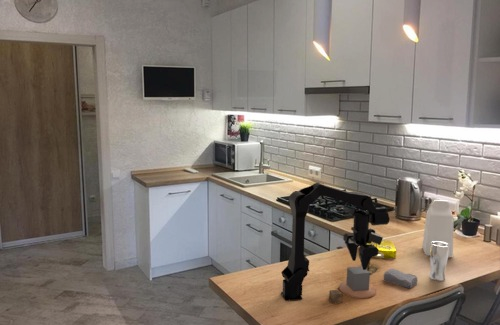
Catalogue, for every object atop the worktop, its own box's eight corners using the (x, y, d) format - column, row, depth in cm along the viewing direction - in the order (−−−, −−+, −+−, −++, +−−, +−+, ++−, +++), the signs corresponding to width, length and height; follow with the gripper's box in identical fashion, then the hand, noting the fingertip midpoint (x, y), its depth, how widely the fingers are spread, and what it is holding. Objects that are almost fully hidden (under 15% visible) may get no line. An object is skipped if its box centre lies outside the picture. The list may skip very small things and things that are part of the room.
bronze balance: (366, 282, 177) (367, 253, 175) (349, 278, 181) (351, 249, 179) (385, 264, 197) (387, 237, 195) (370, 260, 201) (371, 234, 199)
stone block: (392, 278, 186) (381, 280, 179) (394, 267, 186) (383, 269, 179) (419, 288, 178) (409, 290, 171) (421, 276, 178) (411, 278, 171)
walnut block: (332, 303, 159) (332, 294, 158) (329, 299, 162) (329, 290, 162) (341, 302, 159) (341, 293, 159) (338, 298, 163) (338, 289, 162)
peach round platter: (347, 299, 162) (348, 296, 162) (333, 283, 175) (333, 281, 175) (382, 296, 164) (382, 293, 164) (365, 281, 178) (366, 278, 178)
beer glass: (424, 276, 184) (427, 242, 182) (437, 274, 186) (440, 240, 184) (436, 282, 178) (439, 247, 175) (449, 280, 180) (452, 245, 178)
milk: (425, 255, 209) (429, 202, 205) (422, 247, 220) (426, 196, 216) (452, 257, 206) (457, 204, 202) (447, 249, 217) (452, 198, 213)
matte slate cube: (353, 291, 166) (354, 273, 165) (346, 284, 172) (347, 267, 171) (368, 290, 167) (369, 272, 166) (361, 283, 173) (362, 266, 172)
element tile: (391, 249, 218) (392, 239, 217) (396, 259, 203) (397, 250, 202) (360, 246, 220) (361, 237, 220) (363, 257, 206) (363, 247, 205)
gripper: (393, 232, 158) (390, 273, 161) (369, 218, 177) (367, 255, 179) (364, 234, 156) (362, 275, 159) (343, 219, 174) (342, 256, 177)
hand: (359, 265), depth 168 cm, fingers open, 9 cm apart
